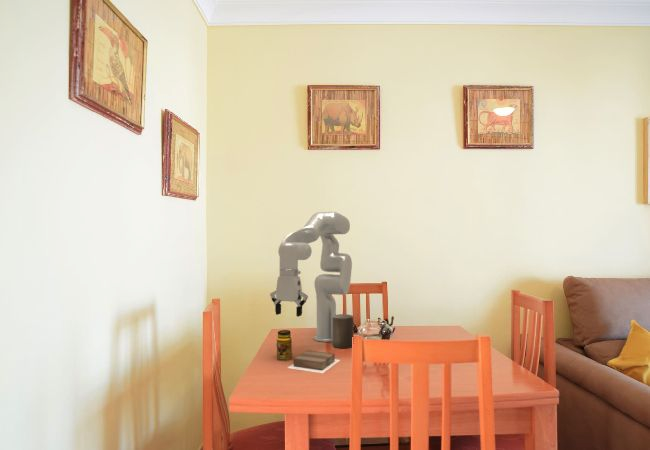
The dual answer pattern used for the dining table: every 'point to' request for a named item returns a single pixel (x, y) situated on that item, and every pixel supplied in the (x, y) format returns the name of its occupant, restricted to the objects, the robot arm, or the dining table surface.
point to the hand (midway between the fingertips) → (288, 315)
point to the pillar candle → (342, 330)
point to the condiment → (284, 345)
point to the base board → (314, 369)
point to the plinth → (314, 360)
